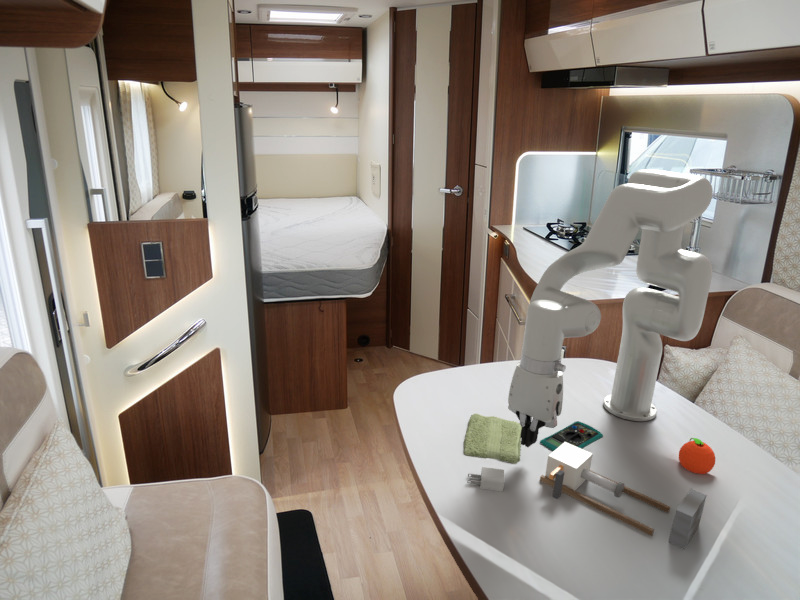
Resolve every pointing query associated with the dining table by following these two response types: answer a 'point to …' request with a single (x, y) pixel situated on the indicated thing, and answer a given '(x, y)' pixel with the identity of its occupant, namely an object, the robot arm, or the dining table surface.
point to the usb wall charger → (489, 479)
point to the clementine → (697, 456)
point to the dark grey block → (558, 484)
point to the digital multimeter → (572, 436)
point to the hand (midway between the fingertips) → (528, 443)
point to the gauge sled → (577, 469)
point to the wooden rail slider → (684, 516)
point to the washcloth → (493, 438)
